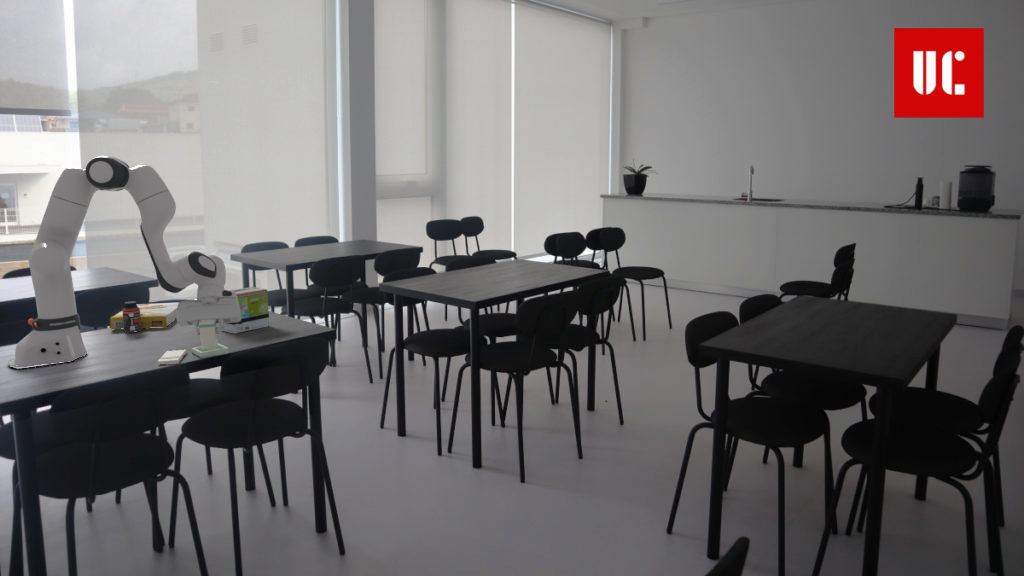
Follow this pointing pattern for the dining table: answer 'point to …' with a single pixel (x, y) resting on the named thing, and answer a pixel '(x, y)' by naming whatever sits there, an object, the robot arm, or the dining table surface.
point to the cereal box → (150, 315)
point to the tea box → (250, 310)
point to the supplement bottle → (131, 317)
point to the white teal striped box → (208, 334)
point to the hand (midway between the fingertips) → (208, 333)
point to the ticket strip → (172, 357)
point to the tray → (210, 351)
